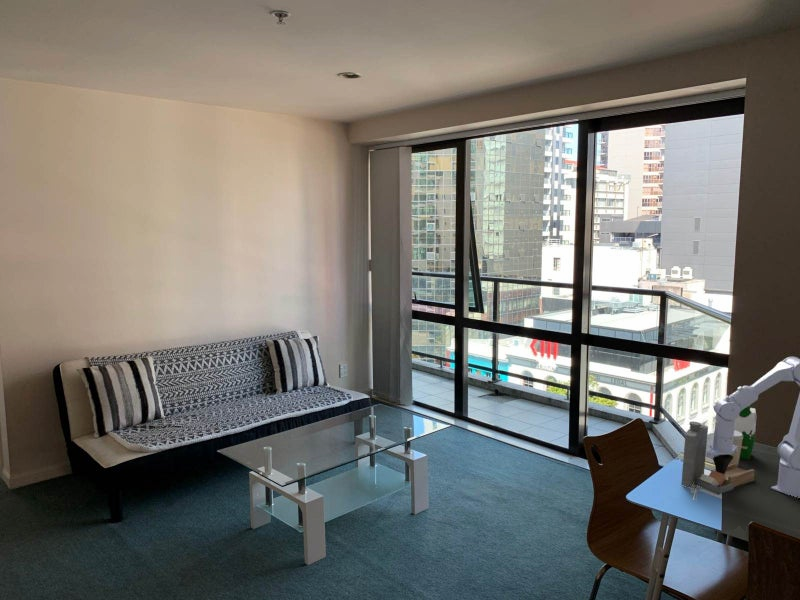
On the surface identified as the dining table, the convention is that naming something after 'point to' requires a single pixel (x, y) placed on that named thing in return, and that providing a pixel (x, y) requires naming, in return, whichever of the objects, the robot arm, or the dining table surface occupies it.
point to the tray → (714, 487)
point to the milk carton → (746, 430)
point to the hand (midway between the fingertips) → (720, 475)
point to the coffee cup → (738, 442)
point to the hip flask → (694, 453)
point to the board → (737, 475)
